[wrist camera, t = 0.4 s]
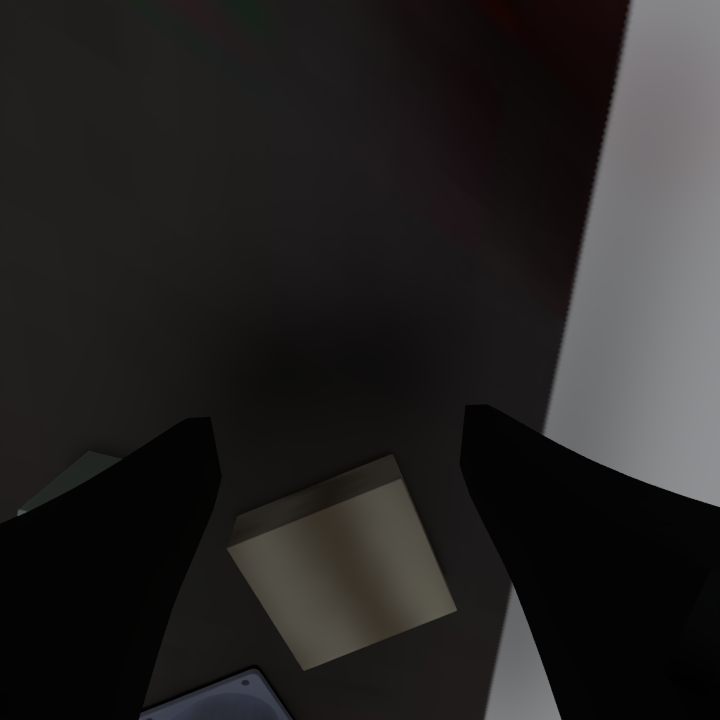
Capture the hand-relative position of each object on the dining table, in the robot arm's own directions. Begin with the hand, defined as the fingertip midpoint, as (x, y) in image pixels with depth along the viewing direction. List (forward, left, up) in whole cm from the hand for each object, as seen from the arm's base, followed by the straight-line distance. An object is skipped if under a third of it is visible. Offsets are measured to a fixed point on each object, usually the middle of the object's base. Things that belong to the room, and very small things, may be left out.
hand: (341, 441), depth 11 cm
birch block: (-4, -12, -10) cm, 16 cm away
